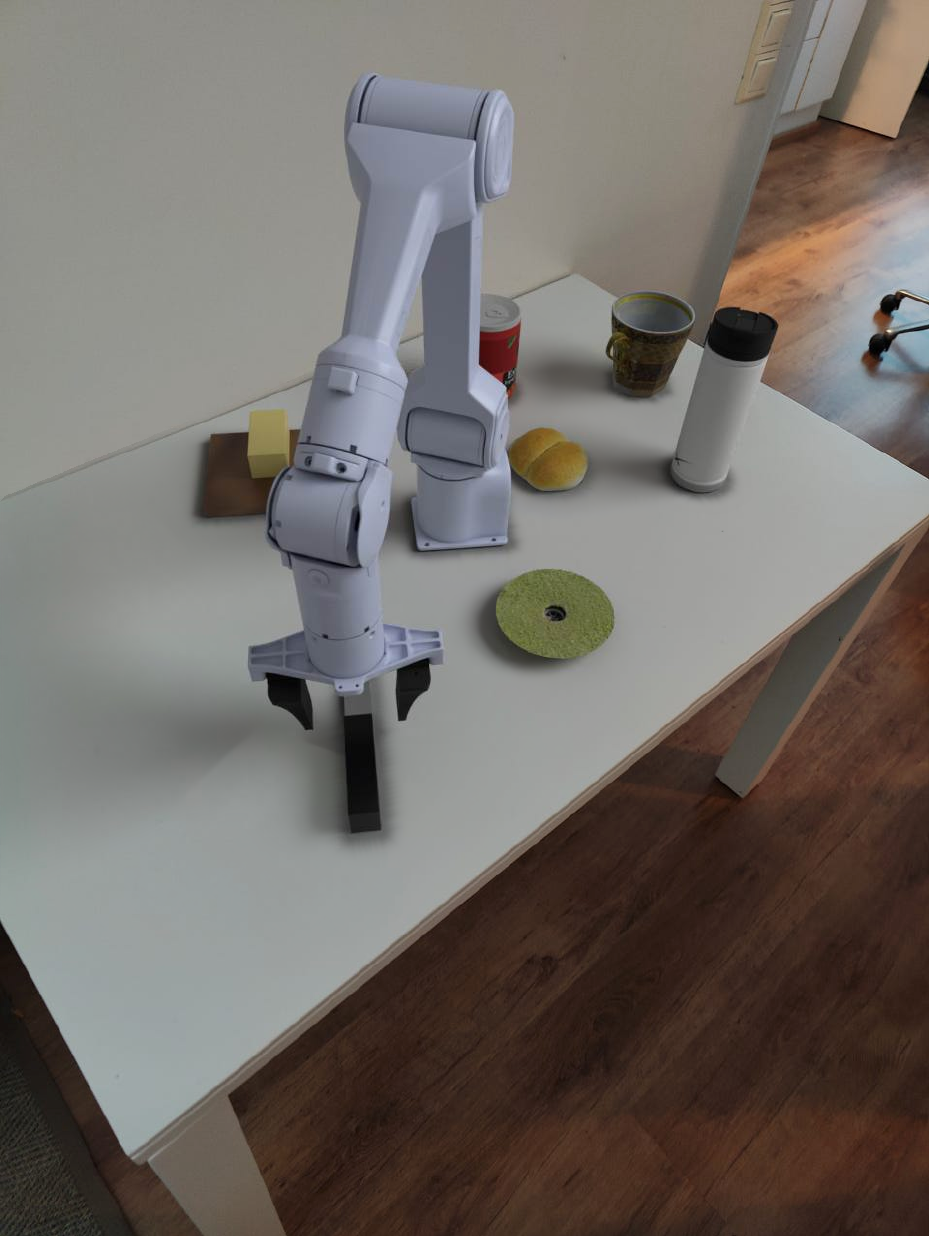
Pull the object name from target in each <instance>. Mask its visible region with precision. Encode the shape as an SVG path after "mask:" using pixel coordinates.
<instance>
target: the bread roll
mask: <svg viewBox="0 0 929 1236" xmlns="http://www.w3.org/2000/svg"><path fill="white" fill-rule="evenodd" d="M508 459H509V465H510V467H511V468H512V470H513V471H514V472H515V473H516V474H517V476H519V477H521V478H522V479H523V480H525V481H526V482H527V483H528V484H529V485H531V486H532V487H533V488H535V489H537V490H538V491H544V492H545V491H546V492H556V491H557V492H558V491H565V490H566V491H567V490H572V489H573V488H575V487H577V486H578V485H579V484H580V483H582V481H583V480H584V477H585V476H586V472H587V469H588V465H589V464H588V456H587V454H586V452H585V450H584V448H583V447H582V446H581V445H580V444H578V443H576V442H574V441H570V440H569V439H568V438H567V437H566V436H565V435H564V433H562V432H560V431H558V429H557V430H556V429H555V428H552V427H536V428H534V429H531V430H529V431H527V432H526V433H524V434H522V435H520V436H519V437H517V438H516V439H515V440H514V441H513V442H512V443H511V444H510V446H509V452H508Z"/></svg>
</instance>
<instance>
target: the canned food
mask: <svg viewBox="0 0 929 1236" xmlns="http://www.w3.org/2000/svg"><path fill="white" fill-rule="evenodd" d="M521 329H522V309H521V307H520V305H519V304H518V303H517V302H515V301H514V300H513V299H511V298H509V297H505V296H502V295H499V294H492V293H481V299H480V333H479V365H480V366H481V367H482V368H483V369H485V370H486V371H487V372H488V373H490V374H491V375H492V376H494V377H495V378H496V379H497V380H499V381H500V382H501V383H502V384H503V385H505V387H506V393H507V395H508V401H509V400H510V399H511V397H512V396H513V394H514V391H515V388H516V379H517V369H518V359H519V351H520V350H519V349H520V340H521V339H520V338H521Z"/></svg>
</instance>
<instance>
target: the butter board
mask: <svg viewBox="0 0 929 1236" xmlns="http://www.w3.org/2000/svg"><path fill="white" fill-rule="evenodd" d="M300 430H301V428H297V429H296V428H294V429H289V432H290V435H289V466H290V467H292V466H293V465H294V456H295V452H296V447H297V445H298V444H297V443H298V439H299V434H300ZM248 437H249V431H242V432H222V433H210V439H209V446H208V448H209V449H208V455H207V456H208V458H207V465H206V473H205V474H206V475H205V484H204V493H203V502H202V503H203V504H202V513H203V516H204V518H217V517H230V516H232V517H233V516H247V515H263V514H265V515H266V509H267V502H268V497H269V493H270V490H271V487H272V485H273V482H274V480H275V478H276V477H267V478H252V475H251V470H250V465H249V461H248V456H247V453H248Z"/></svg>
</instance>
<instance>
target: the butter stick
mask: <svg viewBox="0 0 929 1236" xmlns="http://www.w3.org/2000/svg"><path fill="white" fill-rule="evenodd" d="M287 413H288V412H287V409H286V408H279V409H278V408H277V409H262V410H249V420H248V421H249V422H248V432H249V437H248V453H247V456H248V461H249V465H250V470H251V475H252V478H267V477H277V475H278V474H279V472H280V471H281V470H282V469H284V468H285V467H288V466H289V435H290V432H289V430H290V426H289V420H288V419H289V418H288V414H287Z"/></svg>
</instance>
